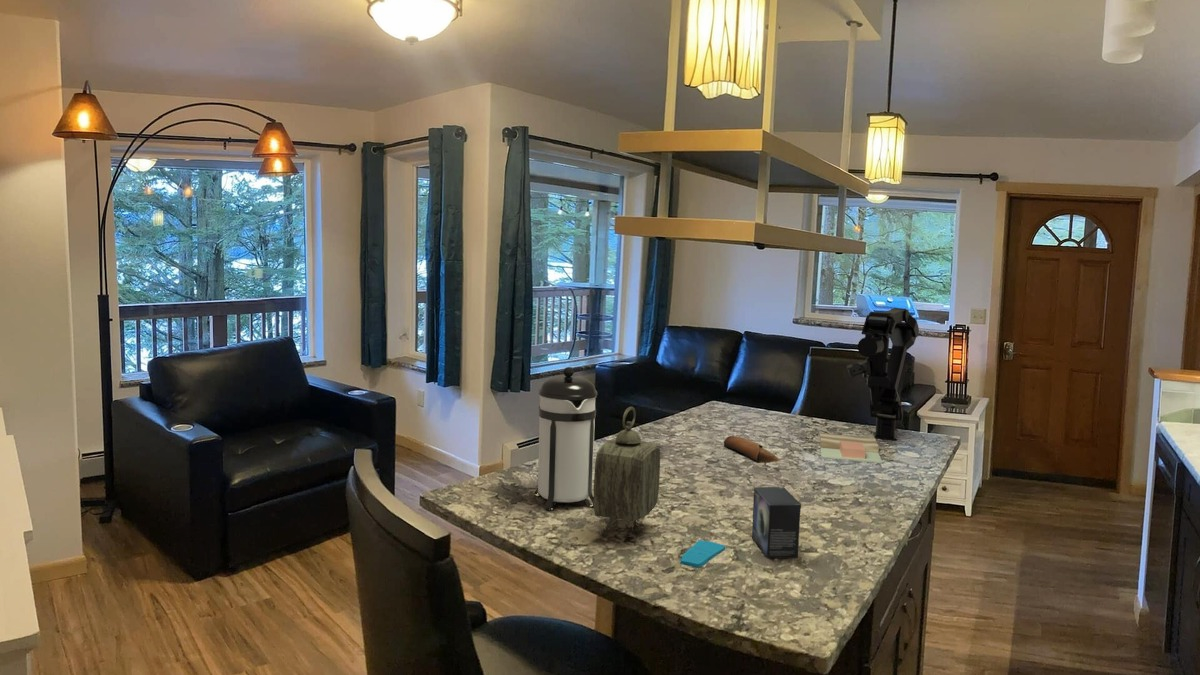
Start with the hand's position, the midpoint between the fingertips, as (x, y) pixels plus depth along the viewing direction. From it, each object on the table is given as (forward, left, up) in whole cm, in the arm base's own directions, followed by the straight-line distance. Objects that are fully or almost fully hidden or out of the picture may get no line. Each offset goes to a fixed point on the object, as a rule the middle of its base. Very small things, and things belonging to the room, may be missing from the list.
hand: (874, 405), depth 231 cm
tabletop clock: (+96, -54, -12) cm, 111 cm away
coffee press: (+82, -72, -12) cm, 110 cm away
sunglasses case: (+25, -34, -13) cm, 44 cm away
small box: (+95, -25, -12) cm, 99 cm away
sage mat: (+17, -7, -12) cm, 22 cm away
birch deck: (+5, -7, -12) cm, 15 cm away
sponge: (+103, -39, -13) cm, 111 cm away
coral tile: (+16, -6, -12) cm, 21 cm away
